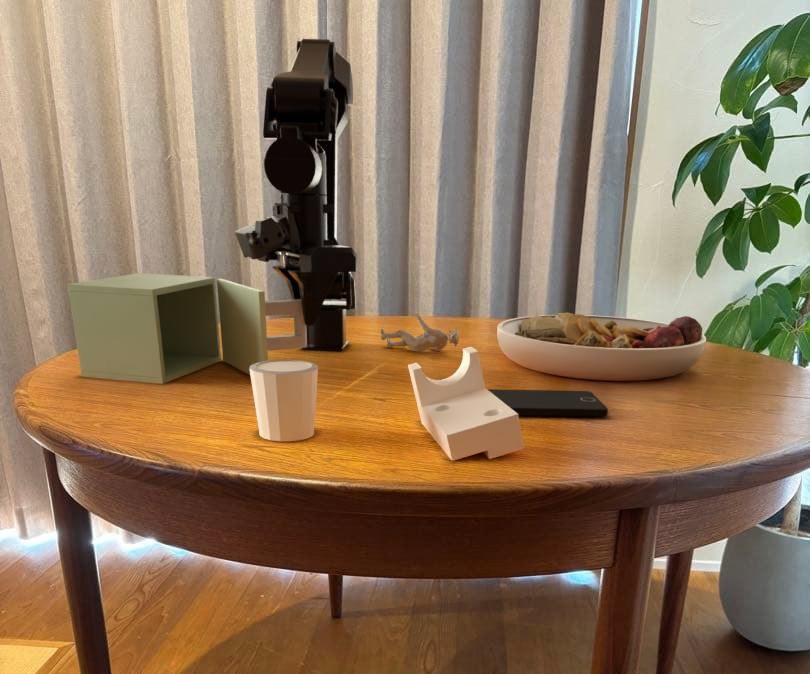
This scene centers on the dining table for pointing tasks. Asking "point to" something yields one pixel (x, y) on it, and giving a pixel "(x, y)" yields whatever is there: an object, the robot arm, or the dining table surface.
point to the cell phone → (552, 402)
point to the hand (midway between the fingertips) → (306, 324)
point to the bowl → (602, 346)
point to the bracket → (466, 412)
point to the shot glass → (285, 398)
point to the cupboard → (145, 326)
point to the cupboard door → (254, 324)
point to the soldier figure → (421, 338)
